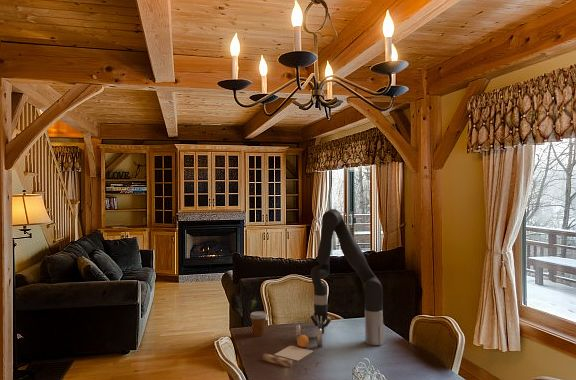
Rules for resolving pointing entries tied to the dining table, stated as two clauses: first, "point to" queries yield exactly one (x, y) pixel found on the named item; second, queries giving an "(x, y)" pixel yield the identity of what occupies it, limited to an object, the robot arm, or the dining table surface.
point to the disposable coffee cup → (258, 322)
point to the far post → (298, 331)
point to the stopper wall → (278, 360)
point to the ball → (302, 340)
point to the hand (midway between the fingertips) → (321, 334)
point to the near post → (319, 337)
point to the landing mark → (294, 353)
